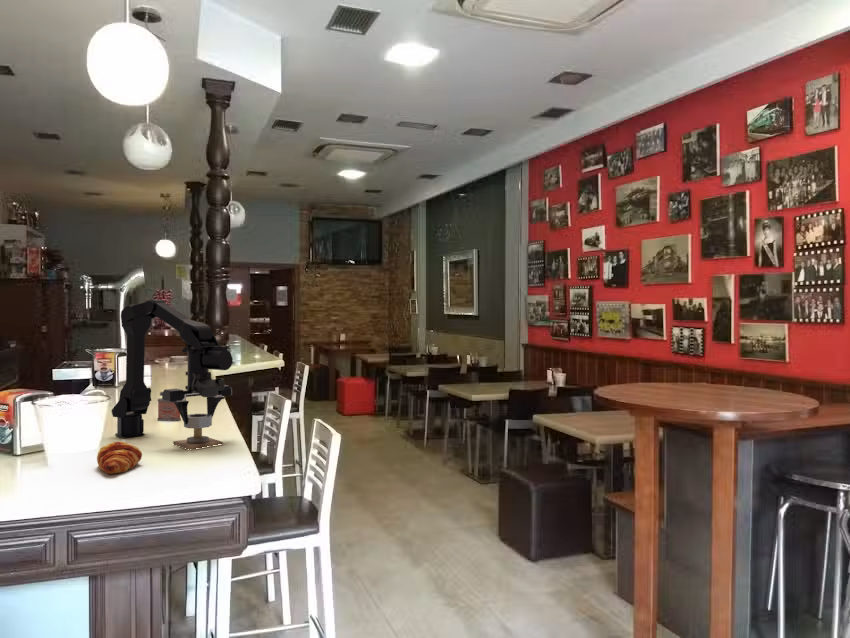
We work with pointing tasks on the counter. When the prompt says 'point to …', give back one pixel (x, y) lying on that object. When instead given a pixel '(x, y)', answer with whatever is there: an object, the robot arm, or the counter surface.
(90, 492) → the counter surface
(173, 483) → the counter surface
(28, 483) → the counter surface
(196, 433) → the peg stand
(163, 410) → the lighter
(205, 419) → the ring
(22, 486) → the counter surface
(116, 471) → the croissant
